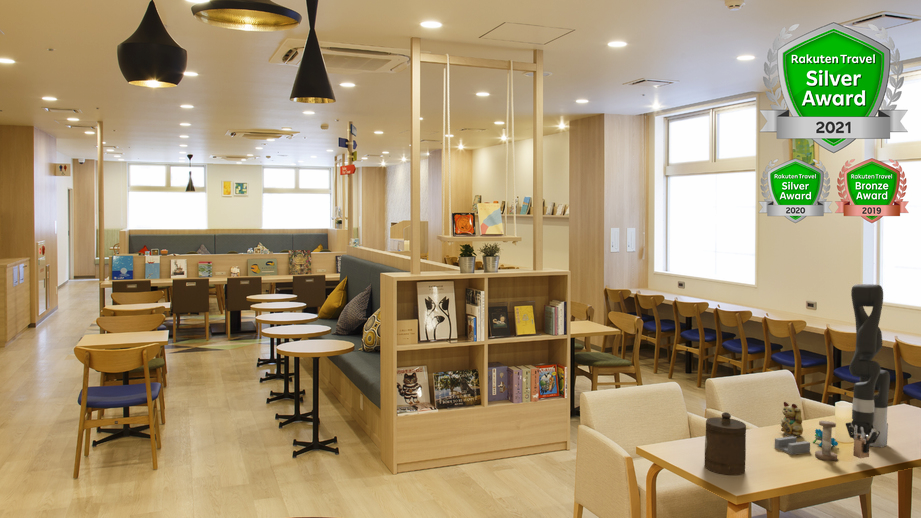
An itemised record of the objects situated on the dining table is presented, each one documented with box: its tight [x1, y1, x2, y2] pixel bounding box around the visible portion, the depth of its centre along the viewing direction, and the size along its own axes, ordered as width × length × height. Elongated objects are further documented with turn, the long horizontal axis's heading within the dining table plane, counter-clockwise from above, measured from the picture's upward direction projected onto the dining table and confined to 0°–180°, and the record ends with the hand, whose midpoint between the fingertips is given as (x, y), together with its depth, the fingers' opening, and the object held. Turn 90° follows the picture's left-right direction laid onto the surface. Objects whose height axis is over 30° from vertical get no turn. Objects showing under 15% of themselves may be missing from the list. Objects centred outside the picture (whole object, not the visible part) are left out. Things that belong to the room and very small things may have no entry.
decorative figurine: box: [780, 401, 804, 438], centre depth 296 cm, size 10×8×15 cm
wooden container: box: [704, 411, 747, 476], centre depth 254 cm, size 15×15×22 cm
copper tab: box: [853, 438, 871, 459], centre depth 261 cm, size 5×3×7 cm, turn 111°
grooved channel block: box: [774, 436, 811, 456], centre depth 276 cm, size 10×9×4 cm
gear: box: [812, 428, 839, 448], centre depth 282 cm, size 11×6×10 cm
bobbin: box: [814, 420, 838, 462], centre depth 267 cm, size 8×8×14 cm
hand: (861, 450), depth 262 cm, fingers closed on copper tab, 2 cm apart
